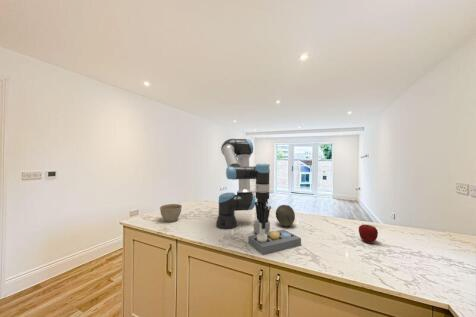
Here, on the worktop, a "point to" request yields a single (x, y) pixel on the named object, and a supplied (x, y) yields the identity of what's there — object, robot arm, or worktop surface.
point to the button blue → (286, 234)
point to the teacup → (256, 226)
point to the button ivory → (261, 238)
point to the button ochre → (274, 235)
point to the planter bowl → (170, 212)
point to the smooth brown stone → (285, 215)
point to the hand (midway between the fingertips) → (262, 234)
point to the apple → (368, 233)
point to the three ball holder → (274, 243)
